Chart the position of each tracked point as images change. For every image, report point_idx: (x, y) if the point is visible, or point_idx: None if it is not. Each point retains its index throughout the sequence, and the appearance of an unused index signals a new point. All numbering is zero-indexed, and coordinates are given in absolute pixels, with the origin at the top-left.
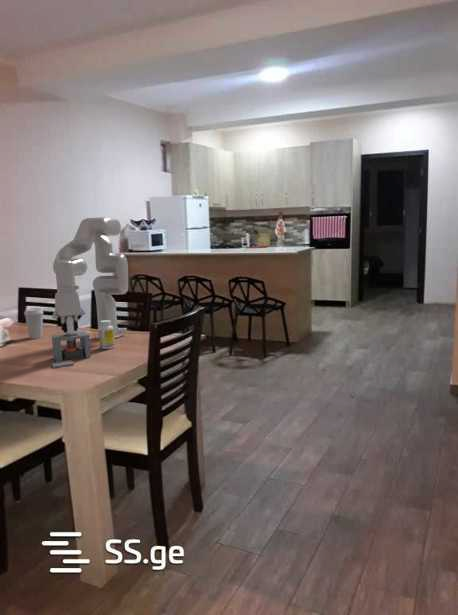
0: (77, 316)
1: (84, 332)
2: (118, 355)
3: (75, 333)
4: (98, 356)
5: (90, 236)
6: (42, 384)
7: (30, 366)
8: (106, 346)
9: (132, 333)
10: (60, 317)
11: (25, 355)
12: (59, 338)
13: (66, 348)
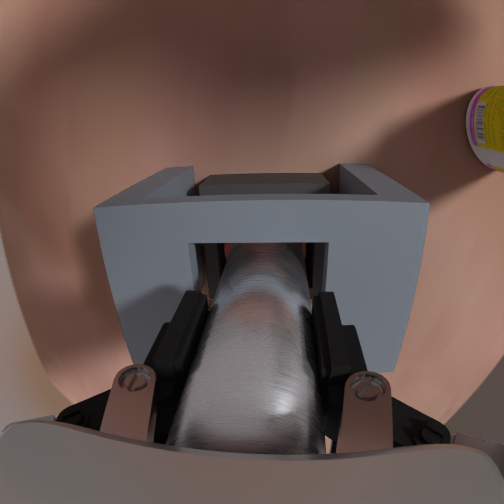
0: (396, 447)
1: (412, 262)
2: (460, 316)
3: (328, 244)
4: None
5: None
6: None
7: (72, 274)
8: (490, 166)
9: None
10: (102, 427)
11: (49, 40)
12: None
13: (230, 243)
